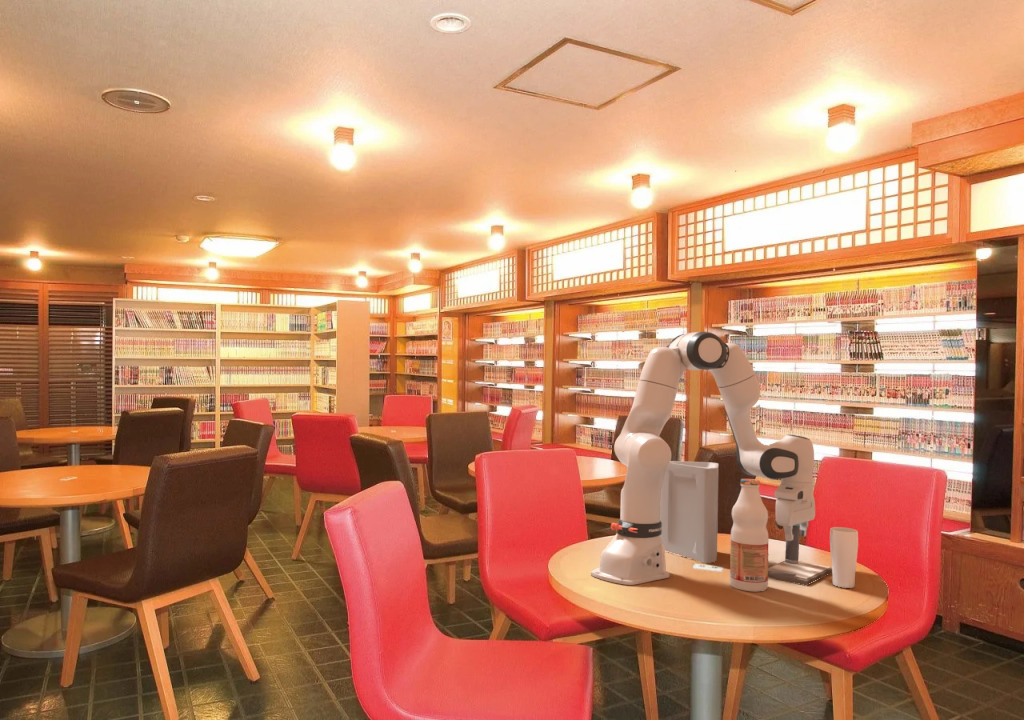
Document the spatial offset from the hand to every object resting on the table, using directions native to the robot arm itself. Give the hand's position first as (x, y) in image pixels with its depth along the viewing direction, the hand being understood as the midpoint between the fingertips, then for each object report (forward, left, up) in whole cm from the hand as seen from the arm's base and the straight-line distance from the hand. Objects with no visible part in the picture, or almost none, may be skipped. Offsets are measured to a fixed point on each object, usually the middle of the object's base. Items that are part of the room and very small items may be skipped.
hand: (795, 538), depth 203 cm
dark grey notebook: (-6, -3, -9) cm, 11 cm away
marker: (0, +1, -7) cm, 7 cm away
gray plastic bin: (-7, +28, -9) cm, 30 cm away
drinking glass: (-8, -16, -9) cm, 20 cm away
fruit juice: (-29, +1, -9) cm, 30 cm away
